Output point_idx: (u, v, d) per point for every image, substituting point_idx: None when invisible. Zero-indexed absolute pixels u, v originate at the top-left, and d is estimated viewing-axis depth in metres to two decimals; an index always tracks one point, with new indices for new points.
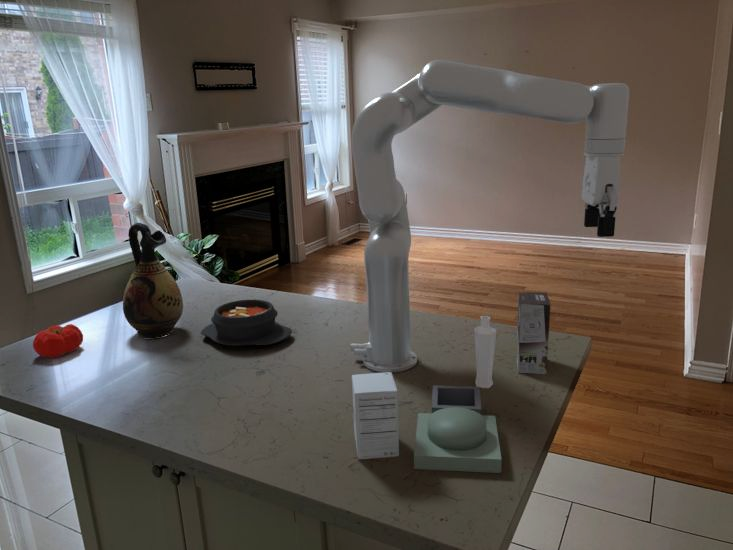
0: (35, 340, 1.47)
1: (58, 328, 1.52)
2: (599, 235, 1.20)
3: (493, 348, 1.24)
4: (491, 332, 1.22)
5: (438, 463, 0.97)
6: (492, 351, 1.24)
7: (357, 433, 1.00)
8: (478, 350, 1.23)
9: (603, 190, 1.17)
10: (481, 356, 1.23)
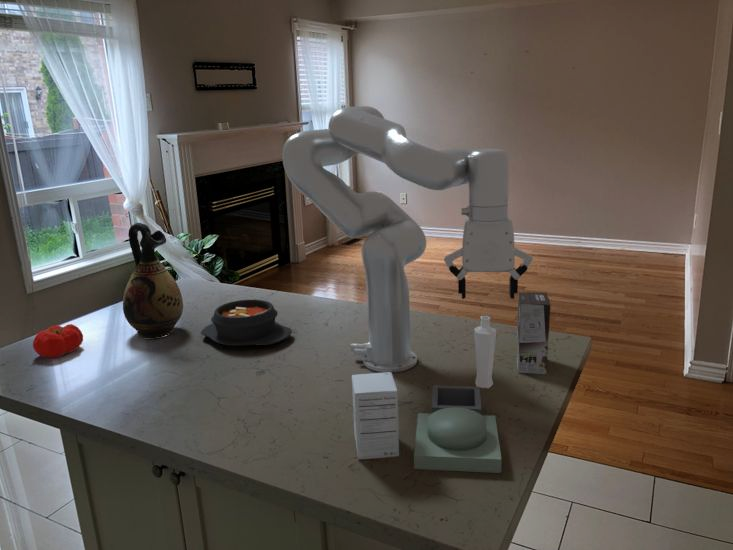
0: (35, 340, 1.47)
1: (58, 328, 1.52)
2: None
3: (493, 348, 1.24)
4: (491, 332, 1.22)
5: (438, 463, 0.97)
6: (492, 351, 1.24)
7: (357, 433, 1.00)
8: (478, 350, 1.23)
9: (514, 253, 1.17)
10: (481, 356, 1.23)
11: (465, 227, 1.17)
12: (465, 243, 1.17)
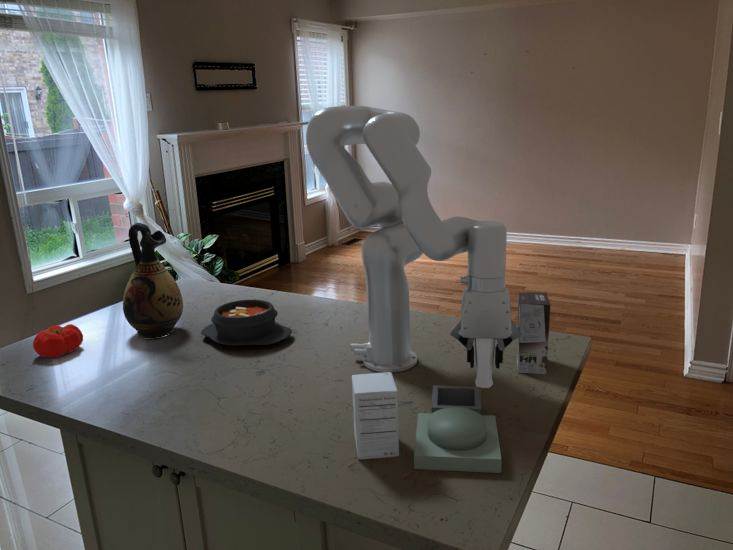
0: (35, 340, 1.47)
1: (58, 328, 1.52)
2: None
3: (493, 348, 1.24)
4: None
5: (438, 463, 0.97)
6: (492, 351, 1.24)
7: (357, 433, 1.00)
8: (478, 350, 1.23)
9: (511, 321, 1.21)
10: (481, 356, 1.23)
11: (464, 296, 1.21)
12: (463, 311, 1.21)
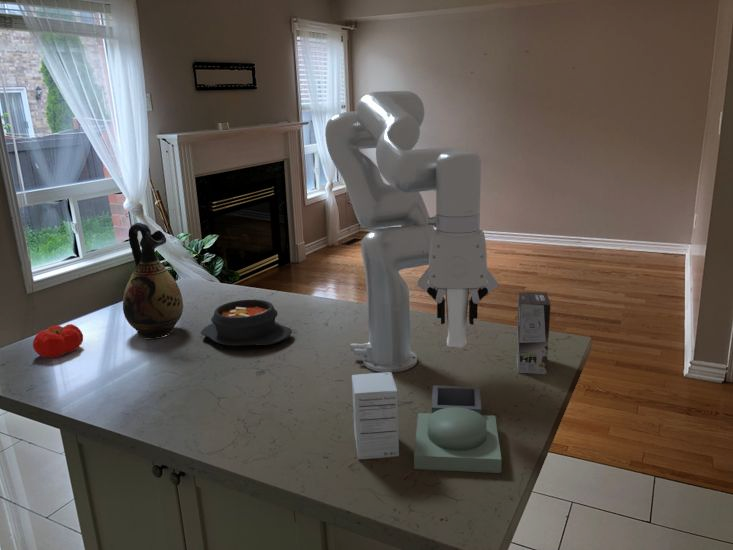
0: (35, 340, 1.47)
1: (58, 328, 1.52)
2: None
3: (466, 301, 1.08)
4: None
5: (438, 463, 0.97)
6: (465, 304, 1.07)
7: (357, 433, 1.00)
8: (449, 303, 1.07)
9: (486, 268, 1.05)
10: (453, 310, 1.07)
11: (432, 239, 1.04)
12: (431, 257, 1.04)
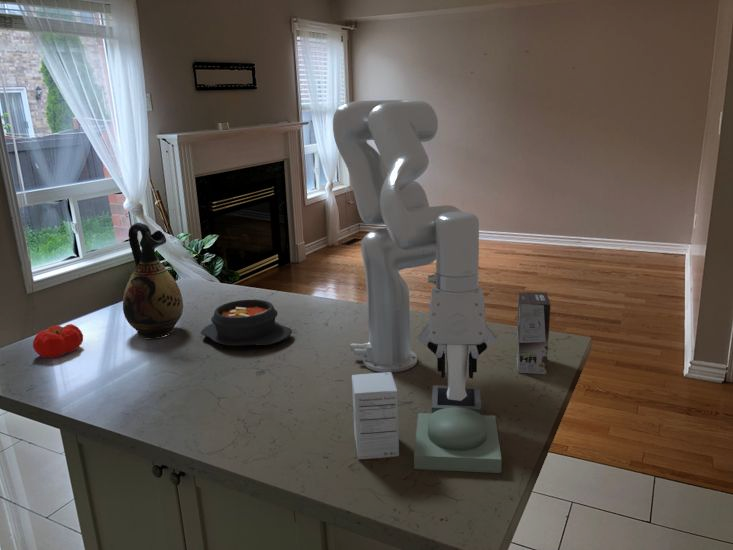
0: (35, 340, 1.47)
1: (58, 328, 1.52)
2: (472, 376, 1.10)
3: (466, 355, 1.10)
4: None
5: (438, 463, 0.97)
6: (465, 359, 1.10)
7: (357, 433, 1.00)
8: (449, 358, 1.09)
9: (485, 325, 1.08)
10: (453, 364, 1.10)
11: (432, 296, 1.07)
12: (431, 314, 1.07)
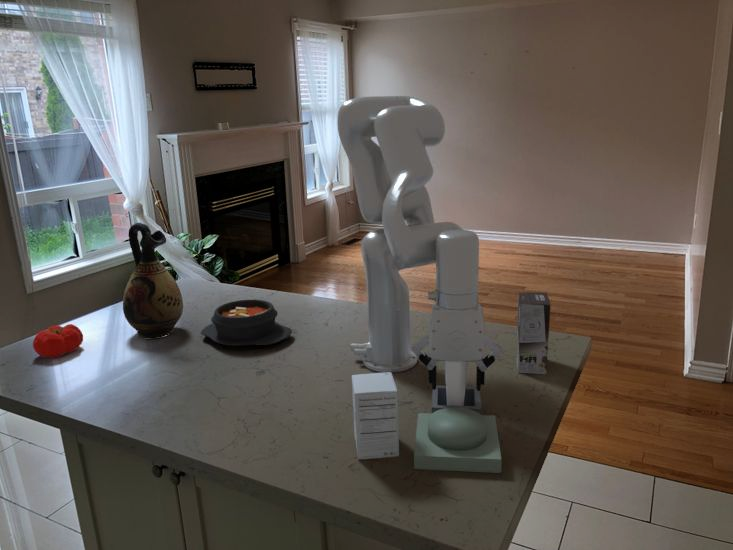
0: (35, 340, 1.47)
1: (58, 328, 1.52)
2: (480, 389, 1.11)
3: (464, 377, 1.11)
4: None
5: (438, 463, 0.97)
6: (463, 380, 1.11)
7: (357, 433, 1.00)
8: (447, 379, 1.11)
9: (485, 341, 1.08)
10: (451, 386, 1.11)
11: (432, 313, 1.08)
12: (431, 330, 1.08)
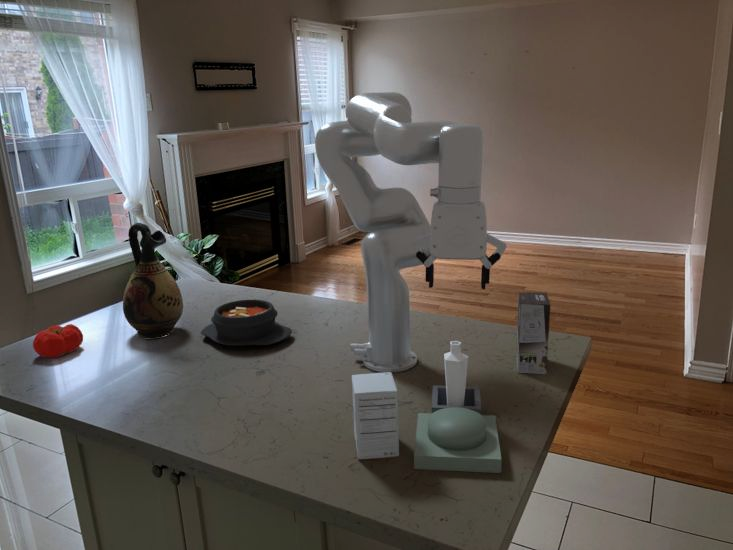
0: (35, 340, 1.47)
1: (58, 328, 1.52)
2: None
3: (464, 376, 1.12)
4: (461, 359, 1.10)
5: (438, 463, 0.97)
6: (463, 380, 1.12)
7: (357, 433, 1.00)
8: (447, 379, 1.11)
9: (486, 240, 1.07)
10: (451, 385, 1.11)
11: (433, 210, 1.07)
12: (433, 227, 1.07)
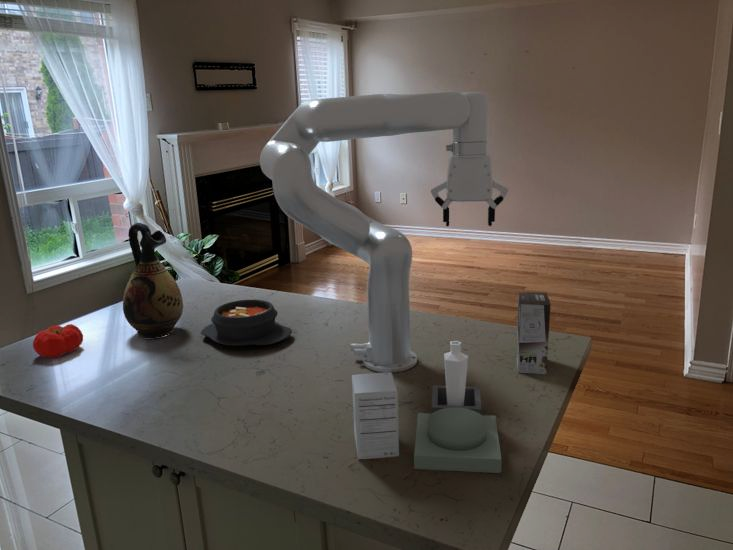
0: (35, 340, 1.47)
1: (58, 328, 1.52)
2: (491, 224, 1.36)
3: (464, 376, 1.12)
4: (461, 359, 1.10)
5: (438, 463, 0.97)
6: (463, 380, 1.12)
7: (357, 433, 1.00)
8: (447, 379, 1.11)
9: (492, 185, 1.34)
10: (451, 385, 1.11)
11: (449, 161, 1.33)
12: (449, 175, 1.33)
